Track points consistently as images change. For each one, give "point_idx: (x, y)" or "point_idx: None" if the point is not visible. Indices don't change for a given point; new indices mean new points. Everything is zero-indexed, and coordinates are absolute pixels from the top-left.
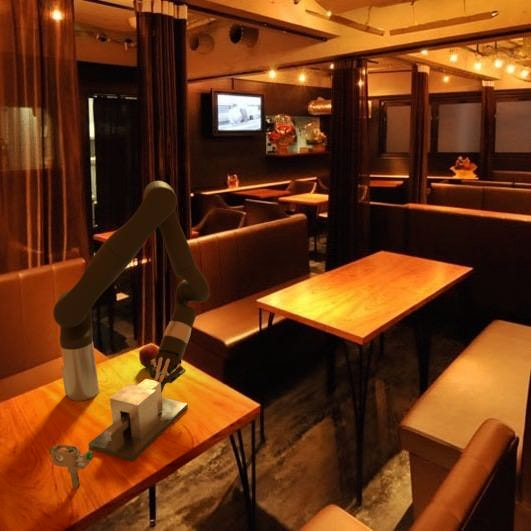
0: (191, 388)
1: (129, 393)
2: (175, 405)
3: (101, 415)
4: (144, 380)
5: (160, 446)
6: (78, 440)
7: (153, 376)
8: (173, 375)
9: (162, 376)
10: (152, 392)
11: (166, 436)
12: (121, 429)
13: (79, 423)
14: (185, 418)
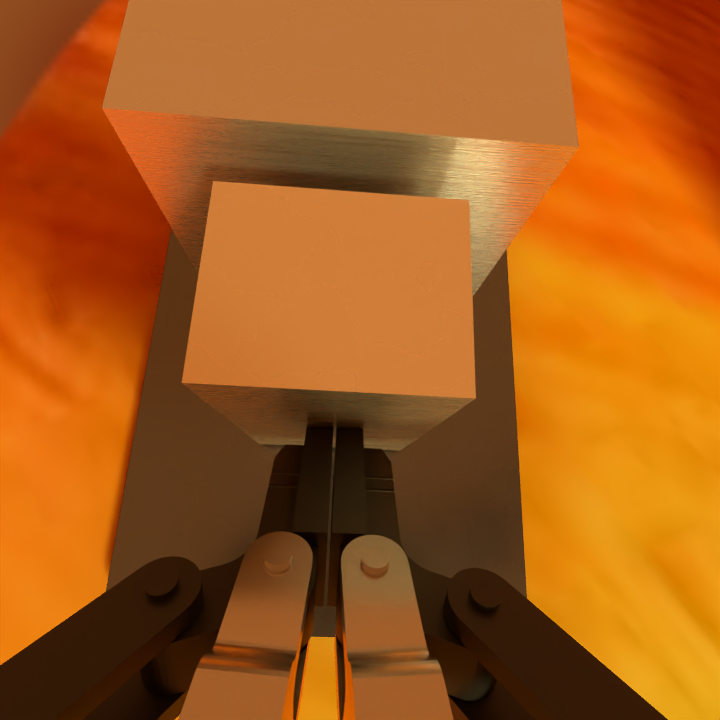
0: None
1: None
2: (196, 558)
3: (657, 320)
4: (461, 345)
5: (130, 176)
6: (582, 109)
7: (448, 589)
8: (6, 674)
9: (270, 614)
10: (124, 53)
11: (136, 259)
12: None
13: (702, 220)
14: (85, 475)
